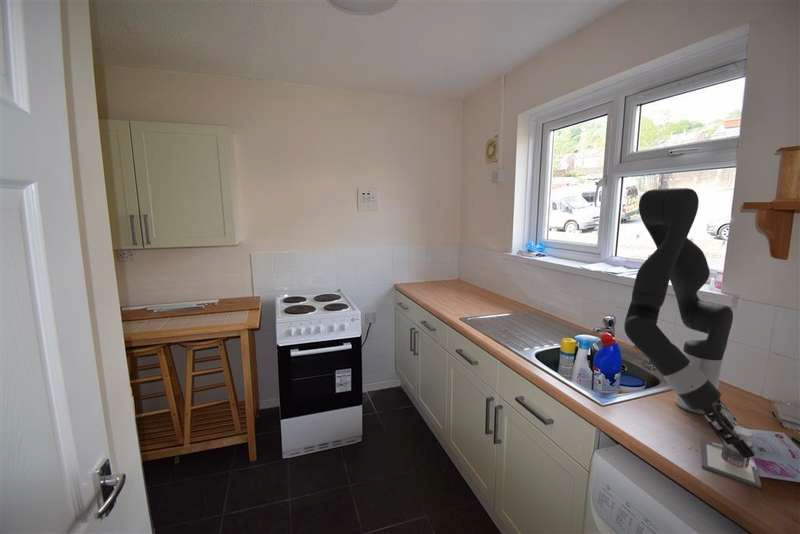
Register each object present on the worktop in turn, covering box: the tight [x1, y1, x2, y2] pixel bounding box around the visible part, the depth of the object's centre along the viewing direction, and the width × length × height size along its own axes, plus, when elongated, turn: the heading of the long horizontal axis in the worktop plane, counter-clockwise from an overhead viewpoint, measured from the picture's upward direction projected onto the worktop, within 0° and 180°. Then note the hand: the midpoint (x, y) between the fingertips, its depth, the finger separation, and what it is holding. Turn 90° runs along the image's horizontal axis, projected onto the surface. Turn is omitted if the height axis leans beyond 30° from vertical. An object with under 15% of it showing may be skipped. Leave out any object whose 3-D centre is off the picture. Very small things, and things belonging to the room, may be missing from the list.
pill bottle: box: [721, 425, 754, 469], centre depth 83 cm, size 5×5×8 cm
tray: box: [700, 440, 762, 489], centre depth 86 cm, size 12×10×1 cm
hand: (748, 449), depth 82 cm, fingers closed on pill bottle, 4 cm apart
